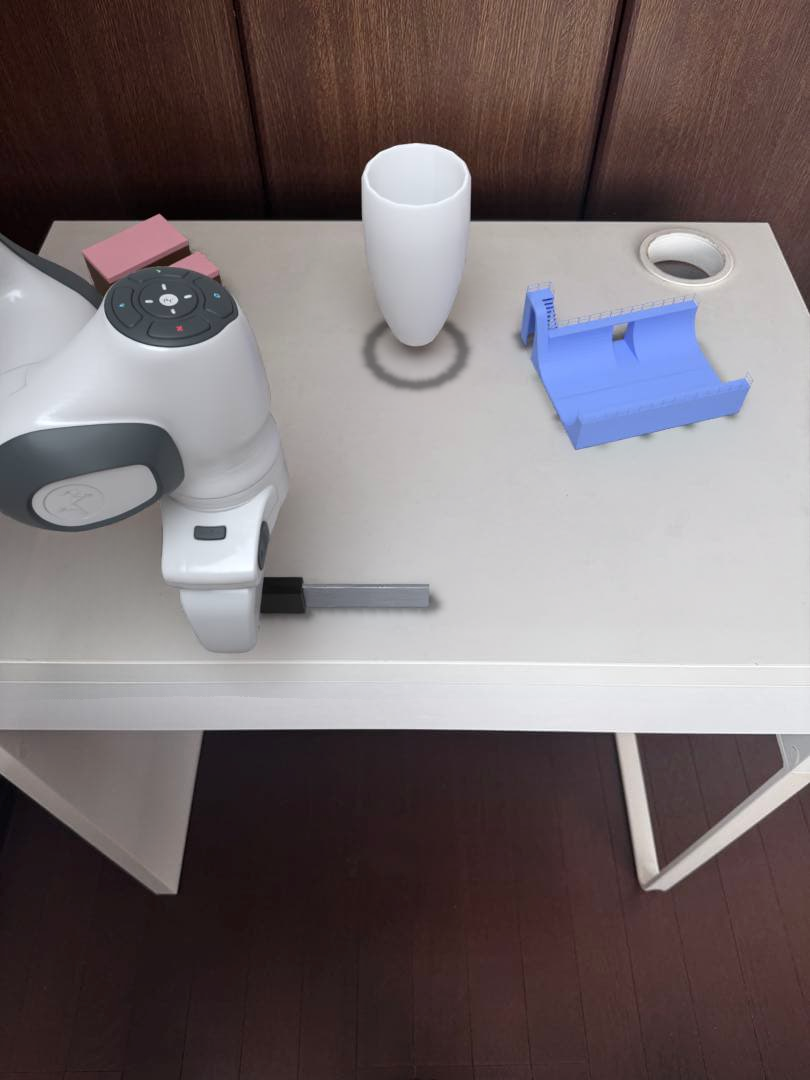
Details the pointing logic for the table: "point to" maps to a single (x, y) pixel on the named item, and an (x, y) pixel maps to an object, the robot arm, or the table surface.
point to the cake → (135, 251)
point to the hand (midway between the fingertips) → (256, 572)
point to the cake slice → (199, 266)
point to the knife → (336, 595)
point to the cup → (416, 235)
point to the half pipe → (626, 371)
